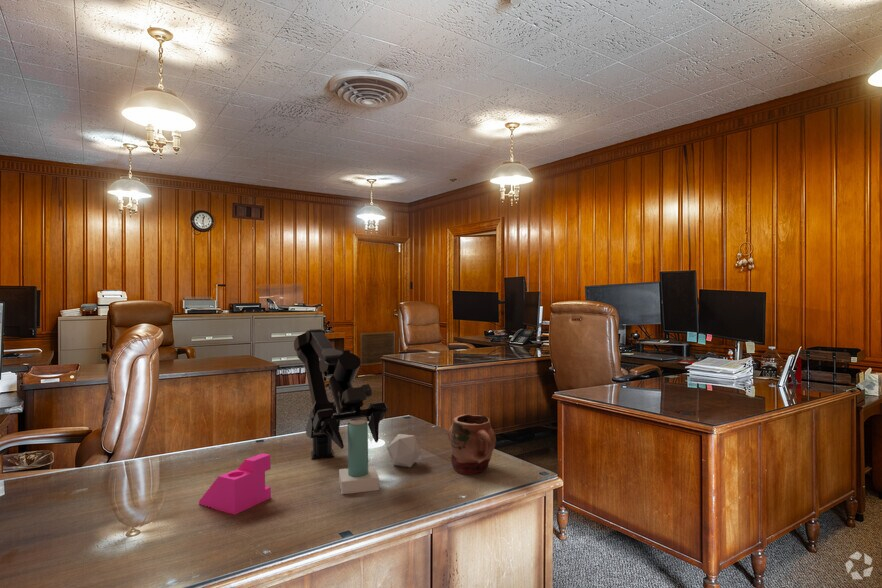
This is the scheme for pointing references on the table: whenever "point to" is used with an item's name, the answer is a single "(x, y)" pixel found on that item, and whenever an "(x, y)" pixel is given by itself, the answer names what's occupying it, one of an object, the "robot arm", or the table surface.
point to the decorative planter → (471, 443)
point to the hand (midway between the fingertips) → (360, 444)
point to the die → (404, 450)
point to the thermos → (357, 447)
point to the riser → (358, 481)
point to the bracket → (240, 486)
